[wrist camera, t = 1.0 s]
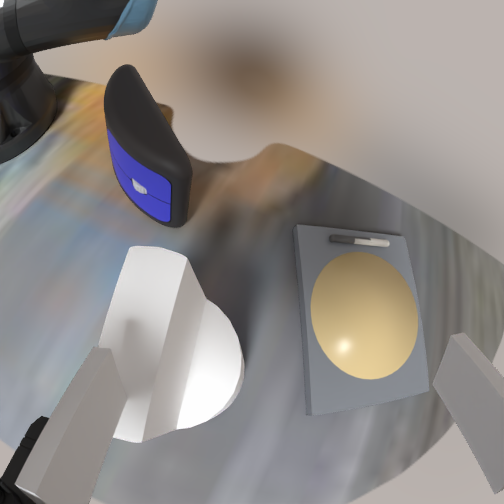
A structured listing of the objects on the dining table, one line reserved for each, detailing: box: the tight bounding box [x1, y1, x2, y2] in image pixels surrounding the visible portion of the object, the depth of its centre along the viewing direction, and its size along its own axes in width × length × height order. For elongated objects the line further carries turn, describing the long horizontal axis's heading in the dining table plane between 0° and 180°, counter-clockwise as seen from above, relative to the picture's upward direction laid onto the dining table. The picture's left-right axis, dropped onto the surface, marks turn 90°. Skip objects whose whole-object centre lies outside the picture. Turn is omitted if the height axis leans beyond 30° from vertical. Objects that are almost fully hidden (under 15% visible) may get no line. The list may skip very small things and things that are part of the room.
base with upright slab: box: [98, 246, 245, 442], centre depth 18 cm, size 9×9×12 cm
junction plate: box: [293, 224, 429, 416], centre depth 29 cm, size 18×14×2 cm
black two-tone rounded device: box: [104, 65, 192, 228], centre depth 26 cm, size 16×5×9 cm, turn 31°
